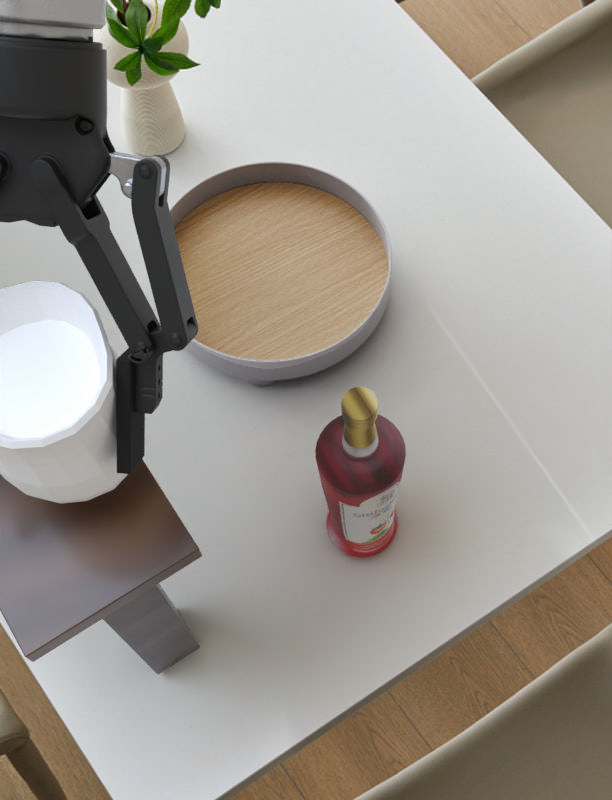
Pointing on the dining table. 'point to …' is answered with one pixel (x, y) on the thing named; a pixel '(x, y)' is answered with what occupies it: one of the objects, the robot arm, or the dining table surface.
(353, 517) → the liquor
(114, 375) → the cup
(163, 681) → the dining table surface
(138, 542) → the wooden pedestal stand
